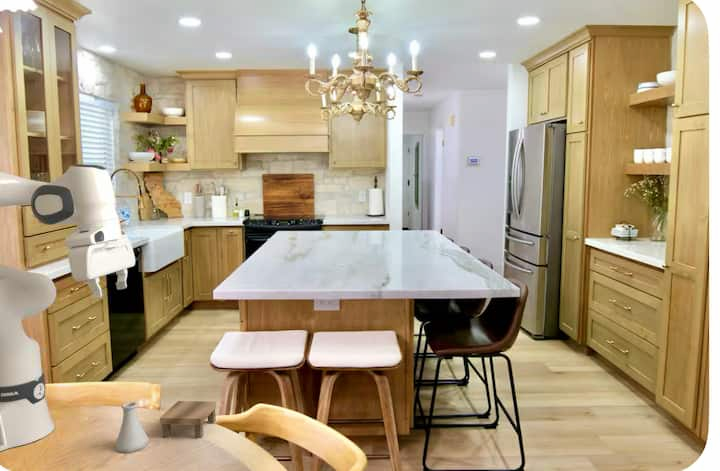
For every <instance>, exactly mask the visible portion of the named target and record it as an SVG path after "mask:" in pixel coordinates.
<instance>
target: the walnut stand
mask: <svg viewBox="0 0 720 471" xmlns="http://www.w3.org/2000/svg"><path fill="white" fill-rule="evenodd" d="M216 408H217V402H216V401H207V400H206V401H205V400H204V401H201V400H200V401H199V400H191V401H190V400H177V402H175V403H174V404H173V405H172V406H171V407H170V408H169V409H168V410H167V411H166V412H165V413H164V414H162V415H161V416H160V417H159V424H160V425H161V432H162V438H163V439H169V438H170V437H171V436H172V425H185V426H187V425H189V426H192V425H193V430H194V431H193V432H194V439H197V438H201V439H202V438H203V437H204V422H205V421H206V420H207V424H210V425H211V424H212V425H213V424H215V423H216V421H217V419H216V417H217V416H216ZM202 436H203V437H202Z"/></svg>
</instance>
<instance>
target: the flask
mask: <svg viewBox="0 0 720 471" xmlns="http://www.w3.org/2000/svg"><path fill="white" fill-rule="evenodd" d="M137 407H138V403H137V402H136V401H129V402H126V403H123V404H121V408H122V411H123V412H122V413H123V417H122V422H121V426H120V430H119V432H118V436H117V439H116V442H115V446H114V449H115V450H116V451H117V452H119V453H131V454H132V453H134V452H137V451H139V450H141V449H144V448H145V447H146V446H147V445H149V443H151V441H150V439H149V437H148V435H147V433H146V431H145V430H144V428H143V425H142V423H141V421H140V419H139V415H138V412H137Z"/></svg>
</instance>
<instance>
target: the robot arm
mask: <svg viewBox="0 0 720 471" xmlns="http://www.w3.org/2000/svg"><path fill="white" fill-rule="evenodd" d="M116 201H117V200H116V194H115V189H114V184H113V181H112V177H111V175H110V172H109V171H108V170H107V168H106V167H104V166H102V165H99V164H81V163H79V164H78V163H76V164H73V165H71V166H69V168H67V170H66V171H65V173H63V174H62V175H60V176H59V177H58V178H56V179H54V180H52V181H51V182H49V181H42V180H36V179H32V178H31V179H30V178H25V177H21V176H18V175H15V174H11V173H9V172H6V171H1V170H0V208H2V207H10V206H30V208H31V211H32V213H33V216H34V218H36V219H37V220H38V221H39V222H40V223H42V224H44V225H46V226H47V225H48V226H60V225H61V226H62V225H72V224H76V227H77V229H75V231H73V232H72V233H71V234H69V235H68V236H67V237H66V238H65V239H64V244H65V247H66V248H69V249H68V255H67V256H68V262H69V268H70V272H71V276H72V278H73V279H74V280H75V281H76V282H84V281H85V282H86V284H87V286H88V287H89V289H90V290H91V292H92V296H93V298H94V299H100V298H103V297H104V296H105V292H104V291H105V290H104V288H101V285H100V284H99V283H100V277H103V276H107V275H110V274H113V273H116V276H117V281H116V282H115V286H116V289H117V290H118V291H119V290H124V289H127V287H128V285H127V278H128V272H129V271H128V269H129V268H132V267H134V266H136V256H135V252H134V248H133V246H132V243H131V240H130V239H129V238H128V236H127V234H126V233H125V232H124V231H123V230H122V229H121V228H122V227H121V222H120V217H119V215H118V213H117V210H116ZM56 296H57V288H56V285H55V283H54V282H53V280H52V279H51V278H50V277H49V276H48V275H46V274H43V273H38V272H31V271H25V270H22V269H19V268H15V267H13V266H9V265H6V264H2V263H0V452H2V451H5V450H9V449H11V448H15V447H20V446H23V445H27V444H30V443H34V442H36V441H38V440H40V439H42V438H43V439H44V438H45V437H47V436H48V435H49V434H51V433H52V432H53V431H54V430H55V427H56V425H55V423H54V420H53V419H52V416H51V413H50V411H49V406H48V404H47V400H46V399H47V398H46V379H45V373H44V372H43V370H42V369H43V368H42V358H41V357H42V356H41V347H40V344H39V342H38V341H37V340H36V339H34V338H31V337H29V336H28V335H27V334H26V332H25V330H24V327H23V324H22V323H23V322H22V321H23V320H26V319H30V318H31V317H35V316H37V315H39V314H40V313H42V312H44V311H45V310H47V309H48V308H49V307H50V306H52V305H53V304H54V302H55V300H56Z"/></svg>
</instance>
